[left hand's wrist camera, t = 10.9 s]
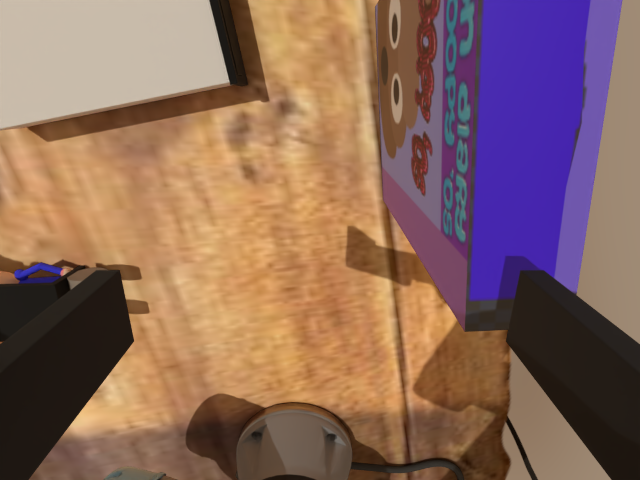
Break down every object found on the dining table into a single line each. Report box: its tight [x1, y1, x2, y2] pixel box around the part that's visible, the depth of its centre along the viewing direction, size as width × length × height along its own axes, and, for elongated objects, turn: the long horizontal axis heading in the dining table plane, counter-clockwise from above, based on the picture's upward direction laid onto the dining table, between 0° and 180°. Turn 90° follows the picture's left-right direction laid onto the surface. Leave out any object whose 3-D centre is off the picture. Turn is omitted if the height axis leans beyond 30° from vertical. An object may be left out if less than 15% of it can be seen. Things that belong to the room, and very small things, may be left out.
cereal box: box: [375, 0, 622, 332], centre depth 25 cm, size 17×5×24 cm, turn 6°
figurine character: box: [0, 262, 107, 342], centre depth 40 cm, size 7×8×15 cm
